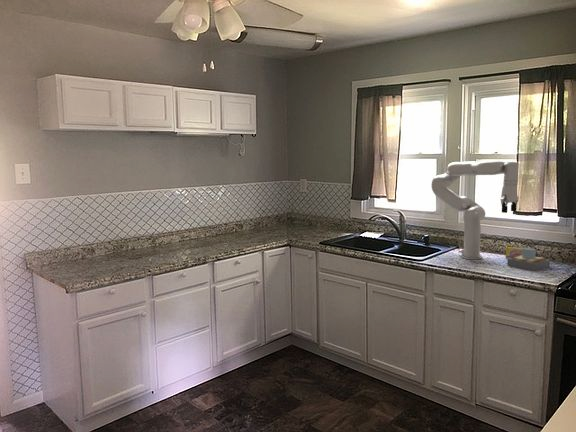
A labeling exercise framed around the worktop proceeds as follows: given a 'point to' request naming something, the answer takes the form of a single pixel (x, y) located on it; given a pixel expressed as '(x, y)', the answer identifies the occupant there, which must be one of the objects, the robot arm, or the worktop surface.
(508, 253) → the candy box
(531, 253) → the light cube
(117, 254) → the worktop surface
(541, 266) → the tote
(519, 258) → the maple block
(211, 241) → the worktop surface
